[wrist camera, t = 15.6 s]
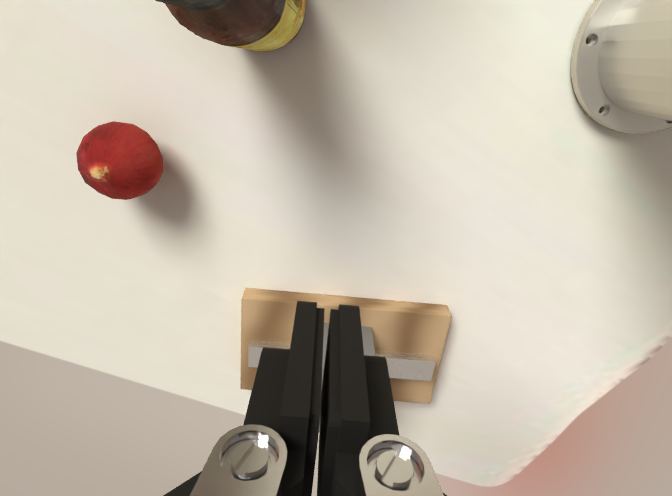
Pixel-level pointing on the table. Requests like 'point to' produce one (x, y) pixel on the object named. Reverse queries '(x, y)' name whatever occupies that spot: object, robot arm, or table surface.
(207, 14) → the sauce bottle
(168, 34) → the table surface
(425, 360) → the rail
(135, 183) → the red oval fruit
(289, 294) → the mounting board
